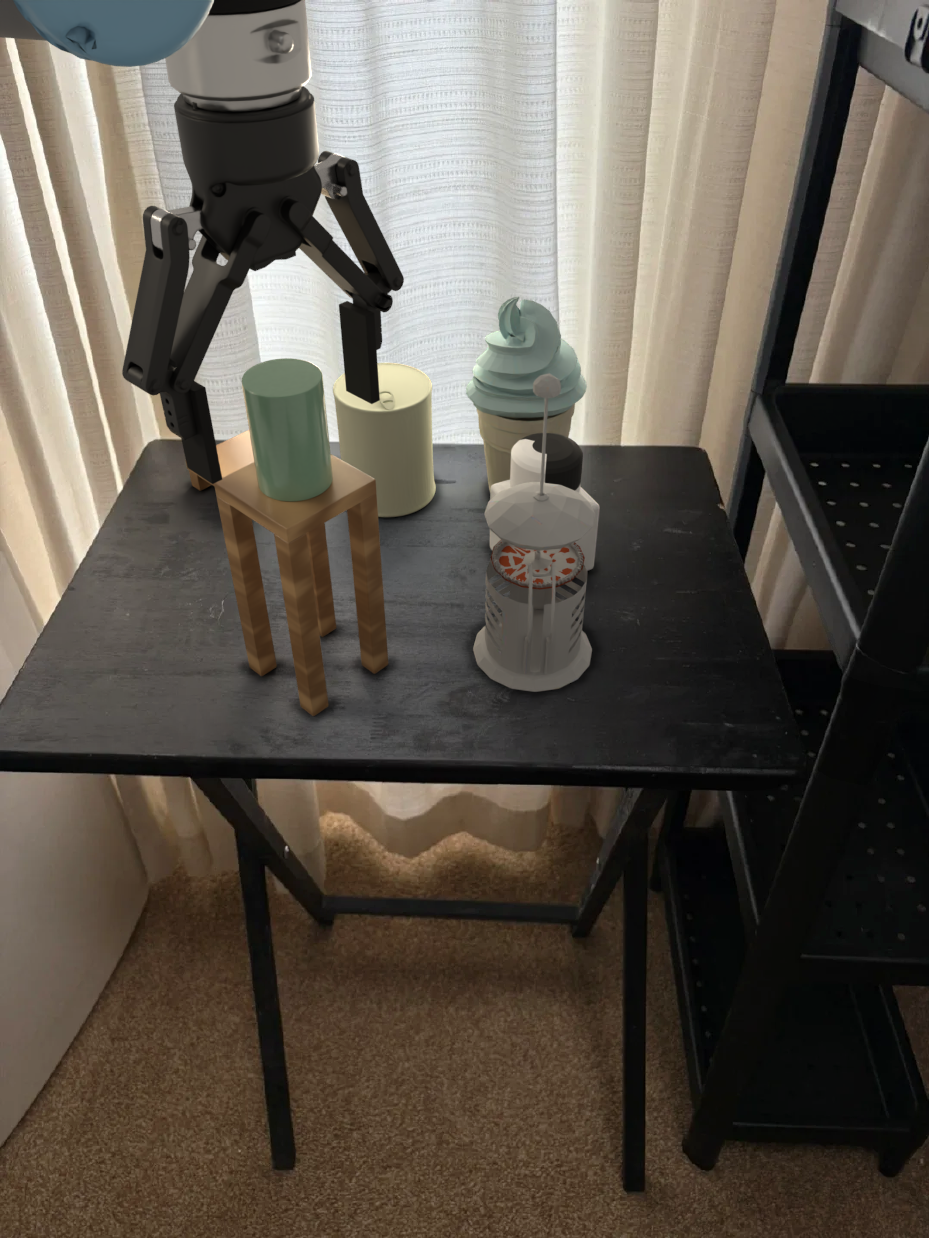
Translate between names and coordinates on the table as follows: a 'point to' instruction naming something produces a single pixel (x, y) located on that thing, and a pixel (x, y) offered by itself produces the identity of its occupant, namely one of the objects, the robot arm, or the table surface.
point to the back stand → (228, 458)
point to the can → (391, 437)
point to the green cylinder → (288, 428)
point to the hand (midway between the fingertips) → (288, 433)
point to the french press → (536, 580)
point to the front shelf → (305, 571)
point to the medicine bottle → (551, 477)
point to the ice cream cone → (522, 382)
